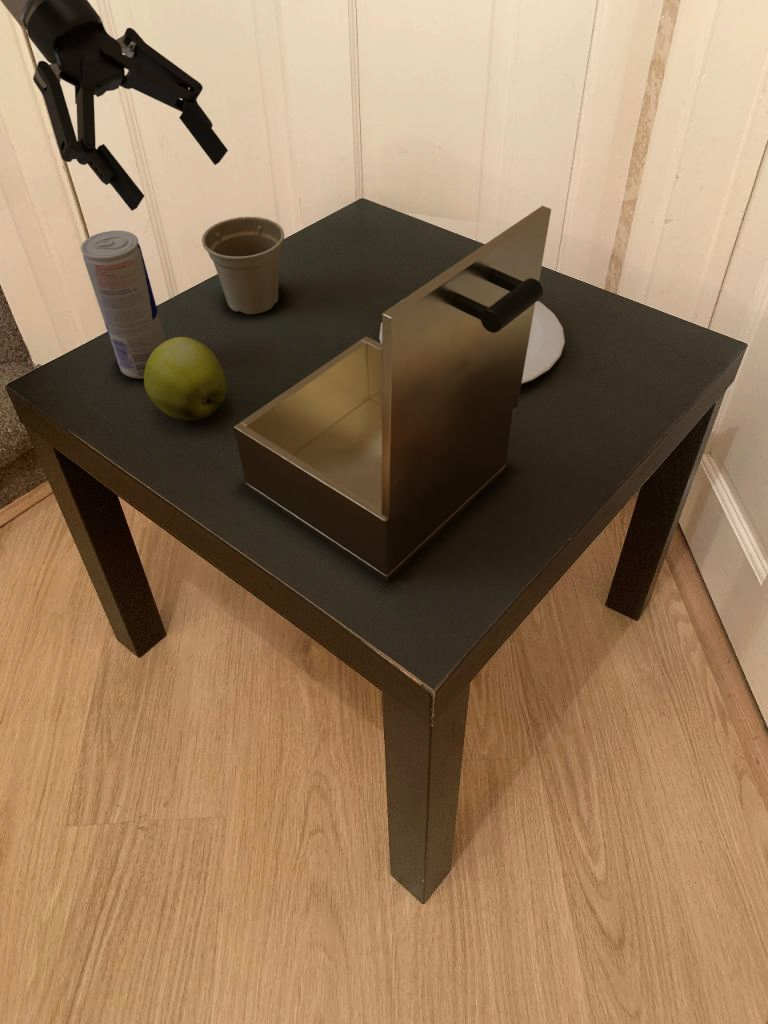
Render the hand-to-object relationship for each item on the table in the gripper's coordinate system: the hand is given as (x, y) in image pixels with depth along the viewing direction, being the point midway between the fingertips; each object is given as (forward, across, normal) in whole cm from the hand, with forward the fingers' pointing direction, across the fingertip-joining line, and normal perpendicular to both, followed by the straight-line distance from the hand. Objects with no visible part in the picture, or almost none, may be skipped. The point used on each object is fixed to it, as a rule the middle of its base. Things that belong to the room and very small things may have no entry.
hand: (181, 180), depth 91 cm
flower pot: (+15, 0, -3) cm, 16 cm away
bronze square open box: (+37, +17, +18) cm, 45 cm away
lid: (+30, +18, +37) cm, 51 cm away
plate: (+34, -6, +16) cm, 38 cm away
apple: (+21, +19, +2) cm, 29 cm away
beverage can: (+14, +17, -4) cm, 22 cm away
